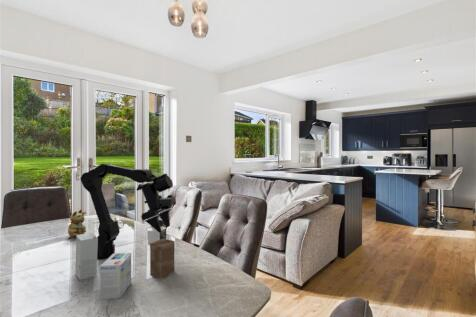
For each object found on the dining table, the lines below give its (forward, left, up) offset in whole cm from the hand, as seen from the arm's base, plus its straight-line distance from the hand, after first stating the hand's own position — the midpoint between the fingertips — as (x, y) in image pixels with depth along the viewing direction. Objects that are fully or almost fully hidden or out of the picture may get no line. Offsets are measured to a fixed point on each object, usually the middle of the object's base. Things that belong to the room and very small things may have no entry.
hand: (164, 229), depth 113 cm
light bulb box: (-16, -23, -14) cm, 31 cm away
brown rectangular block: (-1, -14, -13) cm, 19 cm away
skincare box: (-29, -7, -14) cm, 33 cm away
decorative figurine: (-49, +50, -14) cm, 71 cm away
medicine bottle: (-4, +25, -14) cm, 29 cm away
